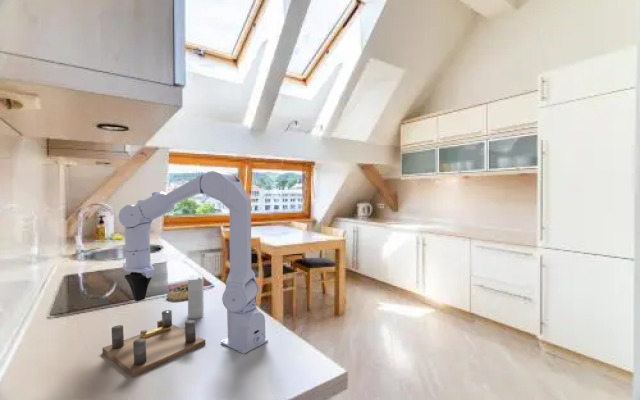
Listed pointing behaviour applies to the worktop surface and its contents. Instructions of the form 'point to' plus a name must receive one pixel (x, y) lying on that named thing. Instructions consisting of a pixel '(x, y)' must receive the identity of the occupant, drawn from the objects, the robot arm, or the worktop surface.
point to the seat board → (151, 347)
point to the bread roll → (178, 293)
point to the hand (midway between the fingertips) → (139, 299)
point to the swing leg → (165, 325)
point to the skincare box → (195, 296)
